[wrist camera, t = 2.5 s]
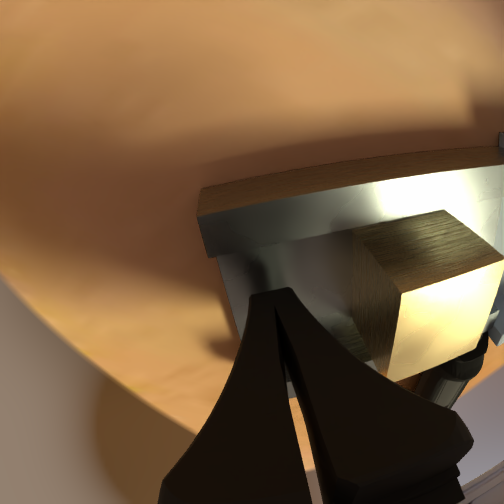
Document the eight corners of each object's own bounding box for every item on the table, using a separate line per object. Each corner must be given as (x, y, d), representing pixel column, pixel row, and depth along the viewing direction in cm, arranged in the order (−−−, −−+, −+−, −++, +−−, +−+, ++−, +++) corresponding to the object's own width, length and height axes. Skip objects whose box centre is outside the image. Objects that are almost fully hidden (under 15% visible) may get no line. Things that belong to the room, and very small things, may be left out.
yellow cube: (445, 210, 10) (506, 258, 7) (433, 294, 12) (475, 348, 9) (352, 230, 10) (401, 293, 7) (351, 318, 12) (384, 385, 9)
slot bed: (498, 146, 9) (534, 161, 8) (471, 303, 14) (492, 328, 12) (200, 189, 9) (196, 216, 8) (250, 367, 14) (255, 405, 12)
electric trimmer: (370, 445, 21) (381, 476, 19) (426, 314, 13) (458, 362, 10) (409, 431, 21) (421, 460, 19) (479, 297, 13) (512, 337, 11)
